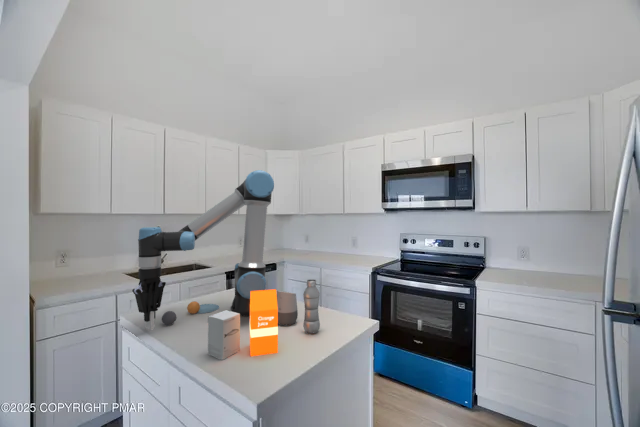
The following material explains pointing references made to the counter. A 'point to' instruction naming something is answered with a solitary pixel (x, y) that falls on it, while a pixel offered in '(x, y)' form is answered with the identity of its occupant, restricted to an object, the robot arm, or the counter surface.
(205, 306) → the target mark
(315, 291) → the plastic bottle
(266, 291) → the orange juice
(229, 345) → the supplement box
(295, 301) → the smart speaker
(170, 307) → the counter surface
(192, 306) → the object ball
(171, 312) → the dark grey ball
